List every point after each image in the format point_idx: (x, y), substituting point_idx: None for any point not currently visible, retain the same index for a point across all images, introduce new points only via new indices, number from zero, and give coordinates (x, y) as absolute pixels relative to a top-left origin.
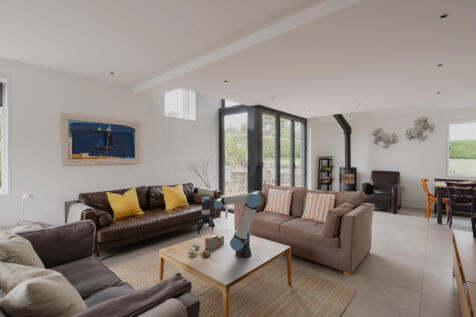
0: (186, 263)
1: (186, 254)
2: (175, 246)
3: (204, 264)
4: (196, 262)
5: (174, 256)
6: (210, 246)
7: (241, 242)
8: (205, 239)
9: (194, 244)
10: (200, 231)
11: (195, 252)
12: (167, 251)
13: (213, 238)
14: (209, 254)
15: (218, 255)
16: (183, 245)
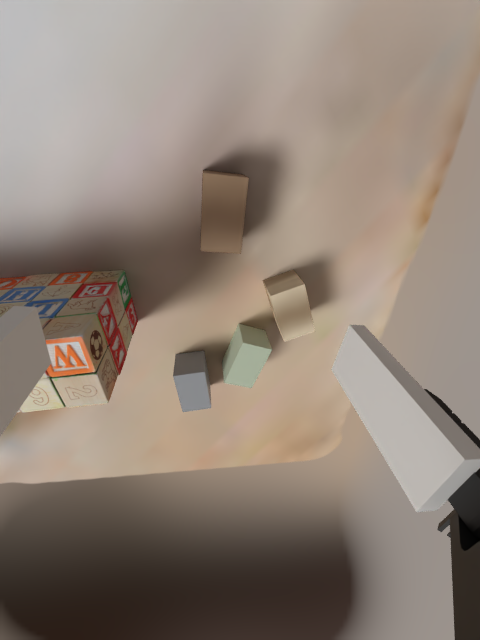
0: (416, 230)
1: (297, 346)
2: (254, 459)
3: (373, 57)
4: (370, 175)
5: None
6: (99, 288)
7: None
8: (113, 382)
9: (189, 408)
10: (466, 451)
11: (298, 288)
12: (326, 436)
13: None
14: (207, 171)
15: (110, 98)
16: (213, 449)
